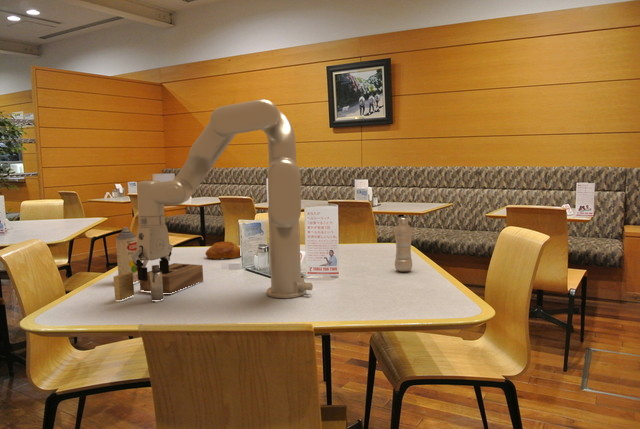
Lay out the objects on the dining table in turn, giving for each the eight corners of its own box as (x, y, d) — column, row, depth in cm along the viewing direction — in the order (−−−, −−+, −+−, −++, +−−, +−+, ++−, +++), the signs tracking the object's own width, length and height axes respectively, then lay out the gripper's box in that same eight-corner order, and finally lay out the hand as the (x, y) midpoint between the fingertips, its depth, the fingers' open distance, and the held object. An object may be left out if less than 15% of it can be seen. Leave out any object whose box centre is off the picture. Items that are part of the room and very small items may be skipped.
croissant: (238, 265, 212) (240, 246, 211) (202, 260, 213) (204, 242, 211) (244, 257, 227) (246, 240, 226) (210, 253, 227) (212, 236, 226)
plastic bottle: (392, 272, 181) (392, 218, 179) (397, 268, 187) (396, 216, 185) (410, 274, 179) (410, 218, 176) (414, 269, 185) (413, 216, 182)
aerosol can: (132, 285, 172) (127, 228, 170) (114, 285, 174) (110, 228, 172) (143, 280, 179) (139, 226, 177) (126, 280, 181) (122, 225, 178)
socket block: (203, 281, 176) (202, 265, 175) (170, 295, 159) (169, 277, 158) (175, 279, 180) (174, 263, 179) (140, 292, 163) (139, 274, 163)
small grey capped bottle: (166, 299, 154) (163, 264, 153) (158, 302, 151) (156, 267, 150) (156, 298, 156) (154, 264, 154) (148, 301, 152) (146, 266, 151)
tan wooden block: (134, 297, 158) (132, 272, 157) (120, 302, 153) (118, 277, 152) (129, 296, 159) (127, 272, 158) (115, 301, 153) (113, 276, 152)
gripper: (141, 225, 141) (144, 284, 143) (179, 218, 157) (181, 271, 159) (120, 224, 144) (123, 282, 146) (160, 217, 160) (162, 269, 162)
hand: (154, 276), depth 152 cm, fingers open, 9 cm apart
